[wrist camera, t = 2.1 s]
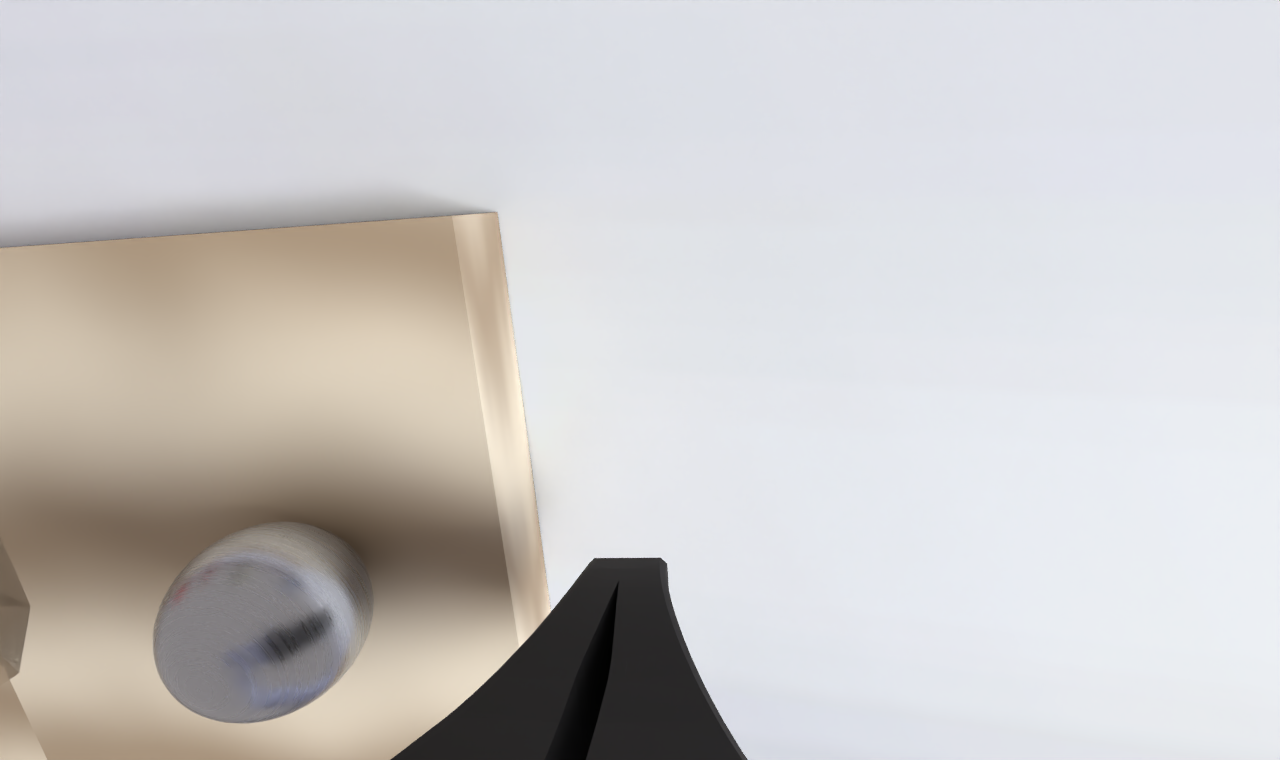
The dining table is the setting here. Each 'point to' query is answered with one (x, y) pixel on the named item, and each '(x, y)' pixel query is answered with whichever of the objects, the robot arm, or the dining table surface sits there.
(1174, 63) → the dining table surface
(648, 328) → the dining table surface
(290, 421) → the birch plate
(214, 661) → the silver metal ball
